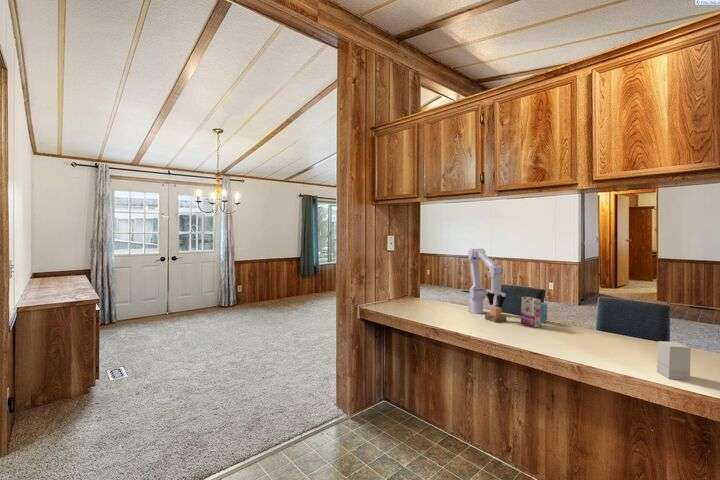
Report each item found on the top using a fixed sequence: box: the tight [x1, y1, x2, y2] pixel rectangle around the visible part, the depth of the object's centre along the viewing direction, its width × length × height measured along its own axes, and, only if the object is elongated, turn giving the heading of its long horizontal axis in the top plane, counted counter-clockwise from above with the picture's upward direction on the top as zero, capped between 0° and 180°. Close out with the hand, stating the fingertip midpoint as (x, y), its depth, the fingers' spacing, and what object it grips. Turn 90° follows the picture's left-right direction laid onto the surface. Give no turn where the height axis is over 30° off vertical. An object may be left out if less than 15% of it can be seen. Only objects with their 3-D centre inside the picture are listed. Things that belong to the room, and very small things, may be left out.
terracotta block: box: [490, 306, 502, 316], centre depth 222 cm, size 4×4×5 cm
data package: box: [541, 301, 548, 324], centre depth 220 cm, size 12×4×12 cm, turn 36°
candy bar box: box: [520, 296, 542, 328], centre depth 210 cm, size 11×5×16 cm, turn 16°
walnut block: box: [484, 313, 507, 323], centre depth 222 cm, size 9×9×4 cm
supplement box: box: [656, 340, 692, 381], centre depth 137 cm, size 7×7×13 cm
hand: (495, 305), depth 222 cm, fingers open, 7 cm apart
